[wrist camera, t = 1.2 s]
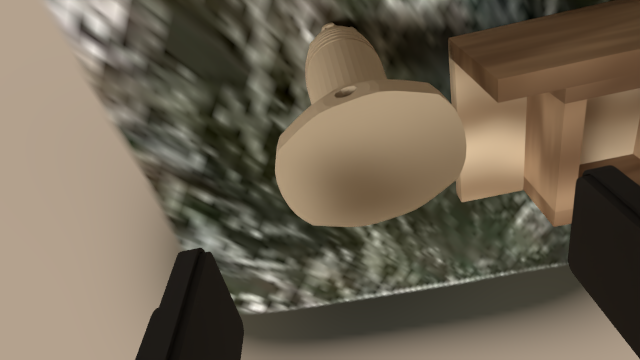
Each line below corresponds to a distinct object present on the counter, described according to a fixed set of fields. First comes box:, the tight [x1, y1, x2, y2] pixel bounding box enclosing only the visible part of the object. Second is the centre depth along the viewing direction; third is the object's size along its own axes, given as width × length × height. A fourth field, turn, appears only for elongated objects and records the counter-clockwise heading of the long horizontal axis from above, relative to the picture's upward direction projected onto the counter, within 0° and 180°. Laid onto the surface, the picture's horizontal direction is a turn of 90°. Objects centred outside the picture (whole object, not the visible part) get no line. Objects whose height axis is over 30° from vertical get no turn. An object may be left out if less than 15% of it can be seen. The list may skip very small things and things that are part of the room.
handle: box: [275, 23, 467, 227], centre depth 21 cm, size 5×6×15 cm
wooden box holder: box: [448, 0, 640, 227], centre depth 27 cm, size 12×18×8 cm, turn 102°
